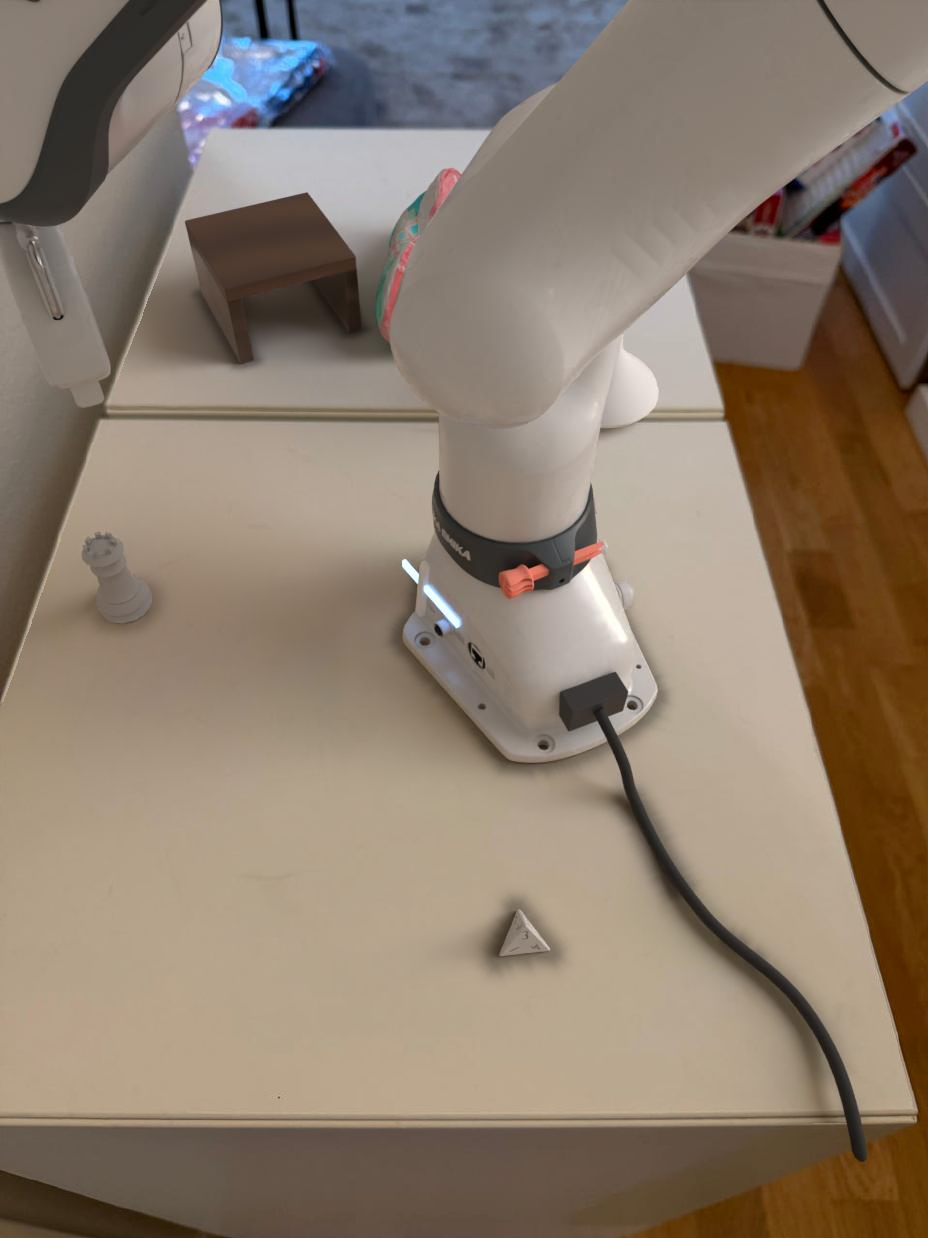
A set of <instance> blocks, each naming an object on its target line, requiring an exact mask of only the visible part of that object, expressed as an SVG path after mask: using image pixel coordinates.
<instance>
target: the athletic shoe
mask: <svg viewBox="0 0 928 1238" xmlns="http://www.w3.org/2000/svg"><path fill="white" fill-rule="evenodd" d="M461 175H462V173H461V172H459V171H458V170H457V169H455V168H454V167H449V168H443V169H441V170H440V171H439V173H438V174H437V175H436V176H435V177H434V179H433V181H432V182H431V183H430V184H429V185H428V187H427V189H426V190H425V191H424V192H422V193H421V194H420V195H418V197H416V199H415V200H414V201H413V202H412V203H411V204H409V206H407V207H406V208H405V210H403V212H402V213H401V215H400V216H399V218H398V219H397V221H396V223H395V224H394V227H393V229H392V230H391V231H392V232H391V235H390V238H389V244H388V247H389V250H388V255H387V259H386V262H385V264H384V265H383V267H382V268H383V269H382V273H381V277H380V279H379V283H378V285H377V286H378V287H377V291H376V295H375V319H376V322H377V323H376V324H377V326H378V329H379V330H378V331H379V332H380V335H381V336H382V338H383V339H384V340H386V341H387V342H388V343H389V344H390V336H389V330H390V320H391V315H392V311H393V308H394V304H395V300H396V296H397V293H398V289H399V285H400V282H401V279H402V276H403V273H404V270H405V267H406V264H407V262H408V259H409V256H410V253H411V251H412V249H413V247H414V245H415V243H416V241H417V240H418V238H419V236H420V235H421V233H422V232H423V231H424V229H425V228H426V226H427V225H428V223H429V222H430V220H431V219H432V217H433V216H434V214H435V213H436V212H437V210H438V209H439V207H440V206H441V204H442V203H443V201H444V200H445V198H446V197H447V196H448V194H449V193H450V191H451V190H452V188H453V187H454V185H455V184H456V182H457V181H458V179H459V178H460V176H461Z"/></svg>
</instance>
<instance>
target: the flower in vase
mask: <svg viewBox="0 0 928 1238" xmlns="http://www.w3.org/2000/svg"><path fill="white" fill-rule="evenodd" d="M624 334H625V331H624V332H623V335H622V339H621V343H620V347H619V351H618V355H617V359H616V363H615V368H614V372H613V376H612V380H611V384H610V388H609V392H608V396H607V399H606V403H605V407H604V412H603V417H602V422H601V427H600V429H615V428H621V427H627V426H630V425H633V424H635V423H637V422H639V421H641V420H642V419H643V418H645V417H646V416H648V415H649V414H650V413H651V412H652V411H653V410H654V409H655V407H656V406H657V403H658V401H659V387H658V382H657V379H656V377H655V374H654V373H653V372H652V370H651V369H650V368H649V367H648V366H647V365H646V364H645V363H644V362H643V360H641V359H639V357H637V356H635V355H634V354H632V353H631V352H628V351H626V350H625V349H624Z"/></svg>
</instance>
